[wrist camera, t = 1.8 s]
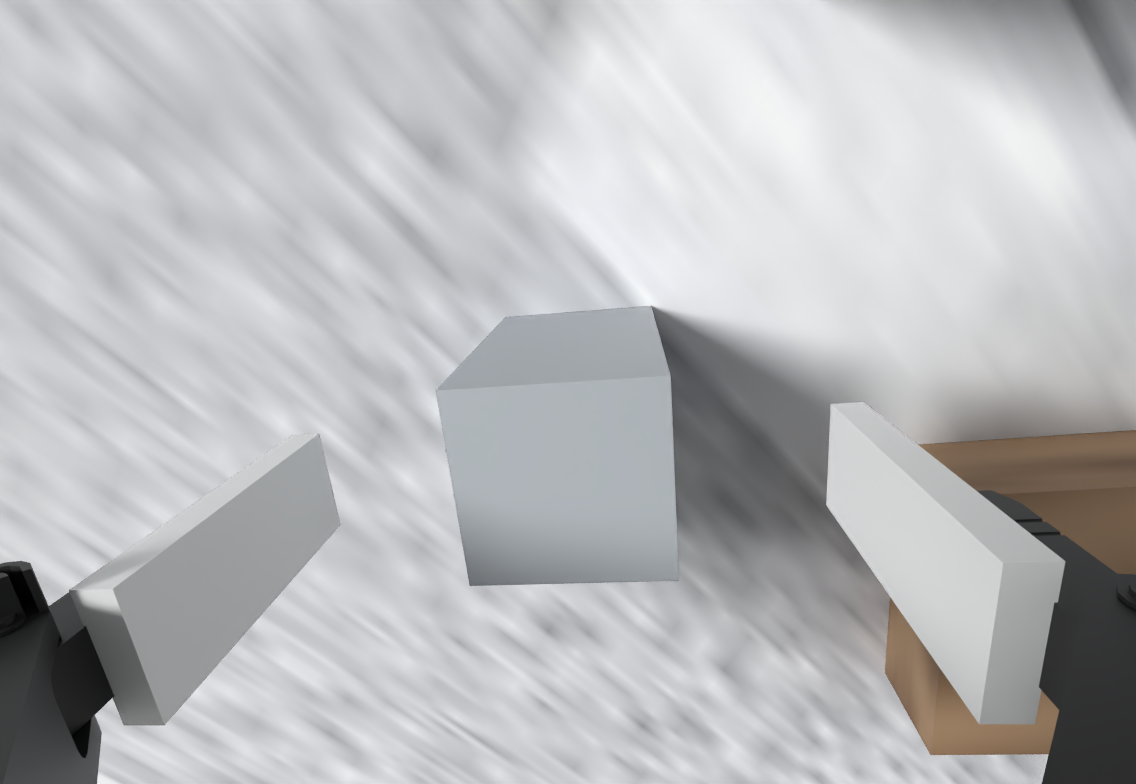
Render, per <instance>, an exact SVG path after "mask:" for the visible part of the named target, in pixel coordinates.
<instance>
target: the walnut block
mask: <svg viewBox="0 0 1136 784" xmlns="http://www.w3.org/2000/svg"><path fill="white" fill-rule="evenodd" d="M919 446H920V447H922V448H923V449H924V450H925V451H927V452H928V453H929V454H930V455H932V456H933V457H934V458H935V459H937V460H938V461H939V462H940V463H942V464H943V465H944V466H946V467H947V468H948V469H949V470H951V471H952V472H953V473H954V474H956V475H957V476H958V477H959V478H961V479H962V480H963V481H964V482H966V483H967V484H968V485H970V486H971V487H972V488H973V489H975V490H976V491H984V490H992V491H994V492H997V493H999V494H1001V495H1004V496H1006V497H1008V498H1011V499H1013V500H1015V501H1018V502H1020V503H1022V504H1023V505H1024V506H1026V507H1027V508H1029V509H1030V510H1031V511H1033V512H1034V513H1035V514H1037V515H1038V516H1039V517H1041V518H1042V520H1043V522H1048V523H1049V524H1050V525H1052V526H1053V527H1054V528H1056V529H1057V530H1059V531H1060V534H1061V535H1065V536H1067V537H1068V538H1069V539H1071V540H1072V541H1074V542H1075V543H1076V544H1078V545H1079V546H1080V547H1082V548H1083V549H1084V550H1086V551H1087V552H1088V553H1090V554H1091V555H1093V556H1094V557H1095V558H1097V559H1098V560H1099V561H1101V562H1102V563H1103V564H1105V565H1106V566H1108V567H1109V568H1110V569H1112V570H1113V571H1114V572H1116V573H1117V574H1135V575H1136V430H1131V431H1116V432H1101V433H1086V434H1071V435H1056V436H1041V437H1026V438H1011V439H996V440H980V441H965V442H950V443H935V444H920V445H919ZM885 674H886V675H887V677H888V679H889V681H890V683H891V684H892V686H893V688H894V690H895V692H896V693H897V695H898V697H899V699H900V701H901V702H902V704H903V706H904V708H905V710H906V711H907V713H908V715H909V717H910V719H911V720H912V722H913V724H914V726H915V728H916V729H917V731H918V733H919V735H920V737H921V738H922V740H923V742H924V744H925V746H926V747H927V749H928V751H929V753H930V755H995V754H1049V752H1050V748H1051V743H1052V739H1053V735H1054V731H1055V726H1056V722H1057V718H1058V714H1059V709H1058V708H1057V707H1056V706H1055V705H1054V704H1053V703H1052V701H1051V700H1050V699H1049V698H1048V697H1047V696H1046V695H1045V693H1044V692H1043V691H1042V690H1041V695H1040V701H1039V706H1038V711H1037V717H1036V722H1035V724H979V723H978V722H977V721H976V719H975V718H974V716H973V715H972V713H971V712H970V710H969V709H968V708H967V706H966V705H965V703H964V702H963V700H962V699H961V698H960V696H959V695H958V693H957V692H956V690H955V689H954V688H953V686H952V685H951V683H950V682H949V680H948V679H947V678H946V676H945V675H944V673H943V672H942V670H941V669H940V667H939V666H938V665H937V663H936V662H935V660H934V659H933V657H932V656H931V655H930V653H929V652H928V650H927V649H926V647H925V646H924V645H923V643H922V642H921V640H920V639H919V637H918V636H917V635H916V633H915V632H914V630H913V629H912V627H911V626H910V625H909V623H908V622H907V620H906V619H905V617H904V616H903V614H902V613H901V612H900V610H899V609H898V607H897V606H896V604H895V603H894V602H893V600H892V599H891V597H890V608H889V622H888V636H887V651H886V665H885Z"/></svg>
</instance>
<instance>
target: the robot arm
mask: <svg viewBox="0 0 1136 784" xmlns="http://www.w3.org/2000/svg"><path fill="white" fill-rule="evenodd" d="M826 506H827V507H828V508H829V510H830V511H831V513H832V514H833V516H834V517H835V518H836V520H837V521H838V523H839V524H840V526H841V527H842V528H843V530H844V531H845V533H846V534H847V536H848V537H849V539H850V540H851V541H852V543H853V544H854V546H855V547H856V549H857V550H858V551H859V553H860V554H861V556H862V557H863V559H864V560H865V561H866V563H867V564H868V566H869V567H870V569H871V570H872V571H873V573H874V574H875V576H876V577H877V579H878V580H879V582H880V583H881V584H882V586H883V587H884V589H885V590H886V592H887V593H888V594H889V596H890V597H891V599H892V600H893V602H894V603H895V604H896V606H897V607H898V609H899V610H900V612H901V613H902V614H903V616H904V617H905V619H906V620H907V622H908V623H909V625H910V626H911V627H912V629H913V630H914V632H915V633H916V635H917V636H918V637H919V639H920V640H921V642H922V643H923V645H924V646H925V647H926V649H927V650H928V652H929V653H930V655H931V656H932V657H933V659H934V660H935V662H936V663H937V665H938V666H939V667H940V669H941V670H942V672H943V673H944V675H945V676H946V678H947V679H948V680H949V682H950V683H951V685H952V686H953V688H954V689H955V690H956V692H957V693H958V695H959V696H960V698H961V699H962V700H963V702H964V703H965V705H966V706H967V708H968V709H969V710H970V712H971V713H972V715H973V716H974V718H975V719H976V721H977V722H978V723H979V724H1035V722H1036V717H1037V711H1038V706H1039V701H1040V695H1041V690H1042V691H1043V692H1044V693H1045V695H1046V696H1047V697H1048V698H1049V699H1050V700H1051V701H1052V703H1053V704H1054V705H1055V706H1056V707H1057V708H1058V709H1059V714H1058V718H1057V722H1056V726H1055V731H1054V735H1053V739H1052V743H1051V748H1050V752H1049V756H1048V760H1047V765H1046V769H1045V773H1044V777H1043V781H1042V784H1136V575H1135V574H1117V573H1116V572H1114V571H1113V570H1112V569H1110V568H1109V567H1108V566H1106V565H1105V564H1103V563H1102V562H1101V561H1099V560H1098V559H1097V558H1095V557H1094V556H1093V555H1091V554H1090V553H1088V552H1087V551H1086V550H1084V549H1083V548H1082V547H1080V546H1079V545H1078V544H1076V543H1075V542H1074V541H1072V540H1071V539H1069V538H1068V537H1067V536H1065V535H1061V534H1060V531H1059V530H1057V529H1056V528H1054V527H1053V526H1052V525H1050V524H1049V523H1048V522H1043V520H1042V518H1041V517H1039V516H1038V515H1037V514H1035V513H1034V512H1033V511H1031V510H1030V509H1029V508H1027V507H1026V506H1024V505H1023V504H1022V503H1020V502H1018V501H1015V500H1013V499H1011V498H1008V497H1006V496H1004V495H1001V494H999V493H997V492H994V491H992V490H984V491H976V490H975V489H973V488H972V487H971V486H970V485H968V484H967V483H966V482H964V481H963V480H962V479H961V478H959V477H958V476H957V475H956V474H954V473H953V472H952V471H951V470H949V469H948V468H947V467H946V466H944V465H943V464H942V463H940V462H939V461H938V460H937V459H935V458H934V457H933V456H932V455H930V454H929V453H928V452H927V451H925V450H924V449H923V448H922V447H920V446H919V445H918V444H916V443H915V442H914V441H913V440H911V439H910V438H909V437H908V436H906V435H905V434H904V433H903V432H901V431H900V430H899V429H898V428H896V427H895V426H894V425H892V424H891V423H890V422H889V421H887V420H886V419H885V418H884V417H882V416H881V415H880V414H879V413H877V412H876V411H875V410H874V409H872V408H871V407H870V406H868V405H867V404H866V403H865V402H852V403H835V404H831V410H830V433H829V455H828V478H827V501H826ZM339 526H340V520H339V516H338V512H337V507H336V503H335V499H334V495H333V490H332V486H331V482H330V478H329V473H328V469H327V465H326V461H325V456H324V452H323V448H322V444H321V439H320V435H319V434H302V435H292V436H290V437H289V438H287V439H286V440H284V441H283V442H281V443H280V444H279V445H277V446H276V447H274V448H273V449H271V450H270V451H268V452H267V453H266V454H264V455H263V456H261V457H260V458H258V459H257V460H256V461H254V462H253V463H251V464H250V465H248V466H247V467H245V468H244V469H243V470H241V471H240V472H238V473H237V474H235V475H234V476H233V477H231V478H230V479H228V480H227V481H225V482H224V483H222V484H221V485H220V486H218V487H217V488H215V489H214V490H212V491H211V492H210V493H208V494H207V495H205V496H204V497H202V498H201V499H199V500H198V501H197V502H195V503H194V504H192V505H191V506H189V507H188V508H187V509H185V510H184V511H182V512H181V513H179V514H178V515H176V516H175V517H174V518H172V519H171V520H169V521H168V522H166V523H165V524H163V525H162V526H161V527H159V528H158V529H156V530H155V531H153V532H152V533H151V534H149V535H148V536H146V537H145V538H143V539H142V540H140V541H139V542H138V543H136V544H135V545H133V546H132V547H130V548H129V549H128V550H126V551H125V552H123V553H122V554H120V555H119V556H117V557H116V558H115V559H113V560H112V561H110V562H109V563H107V564H106V565H105V566H103V567H102V568H100V569H99V570H97V571H96V572H94V573H93V574H92V575H90V576H89V577H87V578H86V579H84V580H83V581H81V582H80V583H79V584H77V585H76V586H74V587H73V588H71V589H70V590H69V593H67V594H66V595H64V596H63V597H62V598H60V599H59V600H57V601H56V602H54V603H53V604H52V605H50V606H48V604H47V602H46V599H45V597H44V595H43V592H42V590H41V587H40V585H39V583H38V580H37V578H36V576H35V573H34V571H33V569H32V566H31V564H30V563H27V562H23V561H17V562H7V563H2V564H0V784H97V776H98V765H99V755H100V744H101V734H102V733H101V730H100V727H99V725H98V722H97V720H96V717H95V714H96V713H97V712H98V711H99V710H100V709H101V708H102V707H103V706H104V705H105V704H106V703H107V702H108V701H109V700H110V699H111V698H112V697H113V700H114V702H115V705H116V707H117V710H118V712H119V714H120V717H121V719H122V722H123V724H124V725H165V724H166V723H167V722H168V721H169V719H170V718H171V717H172V716H173V715H174V714H175V713H176V712H177V710H178V709H179V708H180V707H181V706H182V705H183V704H184V702H185V701H186V700H187V699H188V698H189V697H190V696H191V694H192V693H193V692H194V691H195V690H196V689H197V688H198V686H199V685H200V684H201V683H202V682H203V681H204V680H205V679H206V677H207V676H208V675H209V674H210V673H211V672H212V671H213V669H214V668H215V667H216V666H217V665H218V664H219V663H220V661H221V660H222V659H223V658H224V657H225V656H226V655H227V653H228V652H229V651H230V650H231V649H232V648H233V647H234V645H235V644H236V643H237V642H238V641H239V640H240V639H241V638H242V636H243V635H244V634H245V633H246V632H247V631H248V630H249V628H250V627H251V626H252V625H253V624H254V623H255V622H256V620H257V619H258V618H259V617H260V616H261V615H262V614H263V612H264V611H265V610H266V609H267V608H268V607H269V606H270V605H271V603H272V602H273V601H274V600H275V599H276V598H277V597H278V595H279V594H280V593H281V592H282V591H283V590H284V589H285V587H286V586H287V585H288V584H289V583H290V582H291V581H292V579H293V578H294V577H295V576H296V575H297V574H298V573H299V571H300V570H301V569H302V568H303V567H304V566H305V565H306V564H307V562H308V561H309V560H310V559H311V558H312V557H313V556H314V554H315V553H316V552H317V551H318V550H319V549H320V548H321V546H322V545H323V544H324V543H325V542H326V541H327V540H328V538H329V537H330V536H331V535H332V534H333V533H334V532H335V531H336V529H337V528H338V527H339Z"/></svg>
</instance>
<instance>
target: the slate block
mask: <svg viewBox="0 0 1136 784" xmlns="http://www.w3.org/2000/svg"><path fill="white" fill-rule="evenodd" d="M436 395H437V401H438V406H439V412H440V418H441V424H442V429H443V435H444V441H445V447H446V452H447V458H448V464H449V469H450V475H451V481H452V487H453V492H454V498H455V504H456V510H457V515H458V521H459V527H460V533H461V538H462V544H463V550H464V556H465V561H466V567H467V573H468V578H469V584H470V586H484V585H524V584H564V583H604V582H644V581H679V571H678V546H677V521H676V496H675V471H674V446H673V421H672V396H671V375H670V371H669V368H668V364H667V361H666V357H665V353H664V350H663V346H662V343H661V339H660V335H659V332H658V328H657V325H656V321H655V318H654V314H653V310H652V307H651V306H643V307H630V308H617V309H604V310H591V311H578V312H565V313H552V314H539V315H527V316H514V317H505V318H504V319H503V320H502V321H501V322H500V323H499V324H498V325H497V327H496V328H495V329H494V330H493V331H492V332H491V333H490V334H489V335H488V336H487V337H486V338H485V339H484V340H483V341H482V342H481V343H480V344H479V346H478V347H477V348H476V349H475V350H474V351H473V352H472V353H471V354H470V355H469V356H468V357H467V358H466V359H465V360H464V361H463V362H462V363H461V364H460V366H459V367H458V368H457V369H456V370H455V371H454V372H453V373H452V374H451V375H450V376H449V377H448V378H447V379H446V380H445V381H444V382H443V383H442V385H441V386H440V387H439V388H438V389H437V390H436Z"/></svg>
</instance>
